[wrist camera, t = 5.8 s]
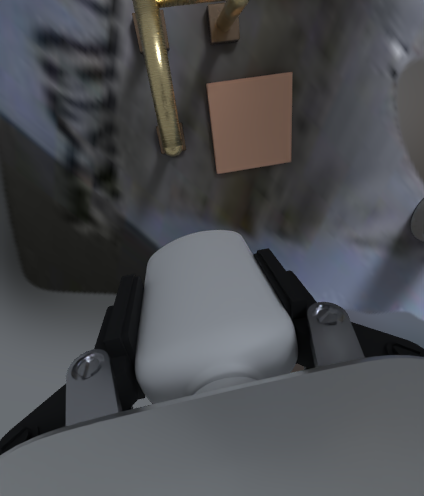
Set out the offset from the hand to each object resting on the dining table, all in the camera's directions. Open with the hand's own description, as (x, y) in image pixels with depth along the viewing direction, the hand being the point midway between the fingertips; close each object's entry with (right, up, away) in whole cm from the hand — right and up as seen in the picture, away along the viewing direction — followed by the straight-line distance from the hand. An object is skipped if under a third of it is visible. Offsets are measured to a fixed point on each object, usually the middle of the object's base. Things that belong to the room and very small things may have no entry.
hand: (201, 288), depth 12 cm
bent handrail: (-1, +17, +11) cm, 20 cm away
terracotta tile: (+4, +14, +13) cm, 20 cm away
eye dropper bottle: (0, +2, +3) cm, 3 cm away
